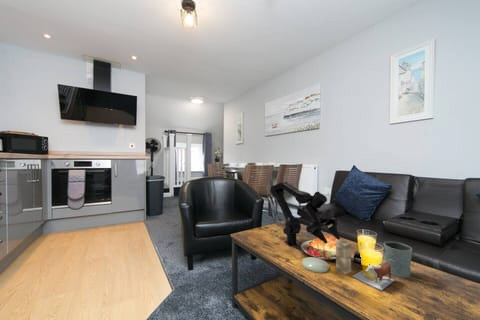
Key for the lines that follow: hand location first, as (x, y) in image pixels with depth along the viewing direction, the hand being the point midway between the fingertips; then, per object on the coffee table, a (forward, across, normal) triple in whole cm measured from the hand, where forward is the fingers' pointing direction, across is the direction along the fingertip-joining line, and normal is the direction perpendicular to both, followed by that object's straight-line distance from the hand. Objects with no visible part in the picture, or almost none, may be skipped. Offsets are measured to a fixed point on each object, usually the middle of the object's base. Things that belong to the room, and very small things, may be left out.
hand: (333, 241), depth 94 cm
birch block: (+12, 0, +5) cm, 13 cm away
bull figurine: (+21, +5, -4) cm, 22 cm away
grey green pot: (+21, +21, -4) cm, 30 cm away
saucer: (+5, -8, +11) cm, 15 cm away
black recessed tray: (+12, +14, +6) cm, 19 cm away
